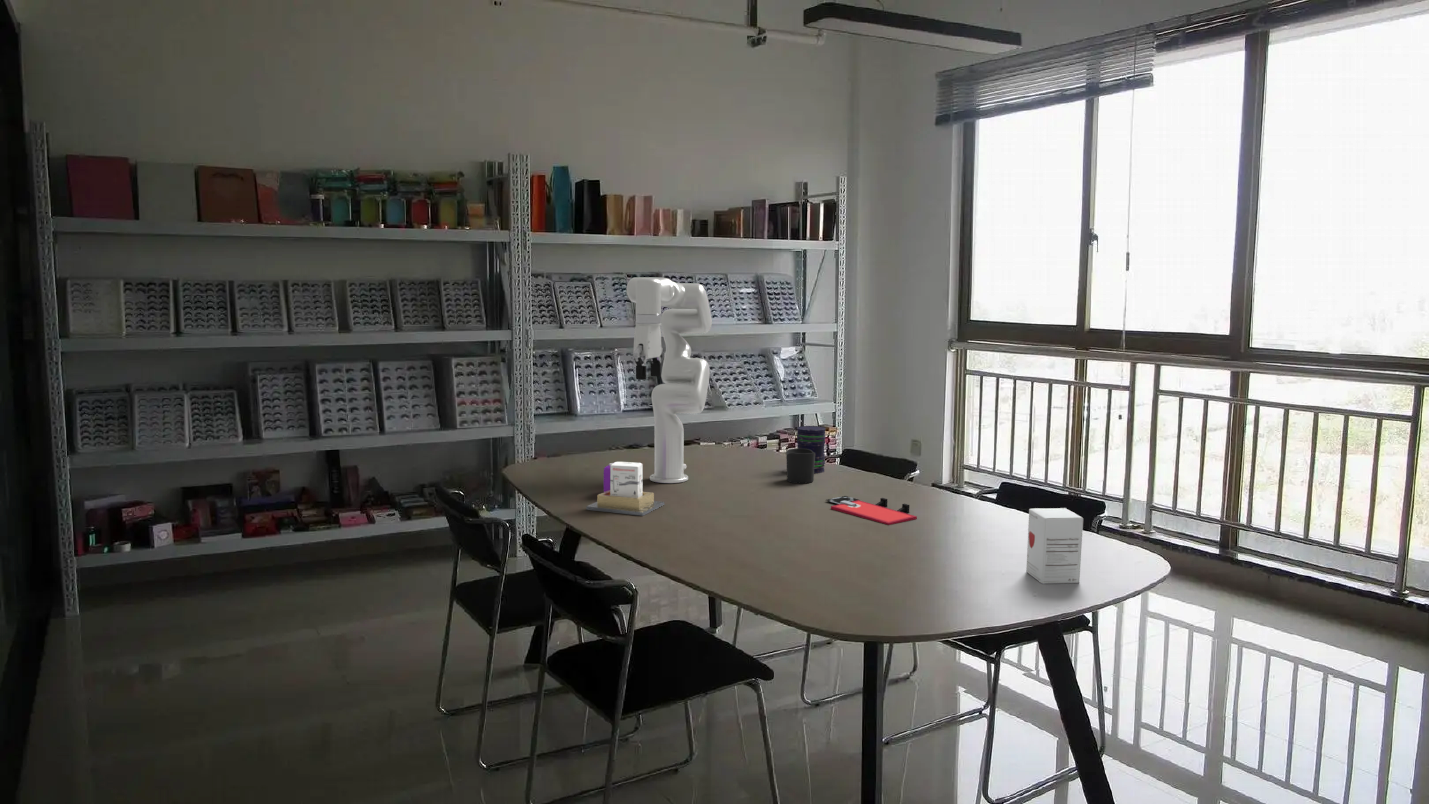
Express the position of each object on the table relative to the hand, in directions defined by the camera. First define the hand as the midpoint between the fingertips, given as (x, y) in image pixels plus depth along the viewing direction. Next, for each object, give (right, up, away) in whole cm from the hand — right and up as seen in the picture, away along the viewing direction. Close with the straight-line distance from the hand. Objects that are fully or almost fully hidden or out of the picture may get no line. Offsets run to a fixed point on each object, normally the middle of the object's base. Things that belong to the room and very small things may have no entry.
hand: (648, 377), depth 291 cm
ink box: (-6, -37, -9) cm, 38 cm away
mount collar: (-6, -38, -9) cm, 39 cm away
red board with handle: (+64, -39, -10) cm, 75 cm away
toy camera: (-8, -36, +9) cm, 38 cm away
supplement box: (+95, -47, -72) cm, 128 cm away
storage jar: (+53, -31, +46) cm, 77 cm away
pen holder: (+48, -33, +29) cm, 65 cm away
